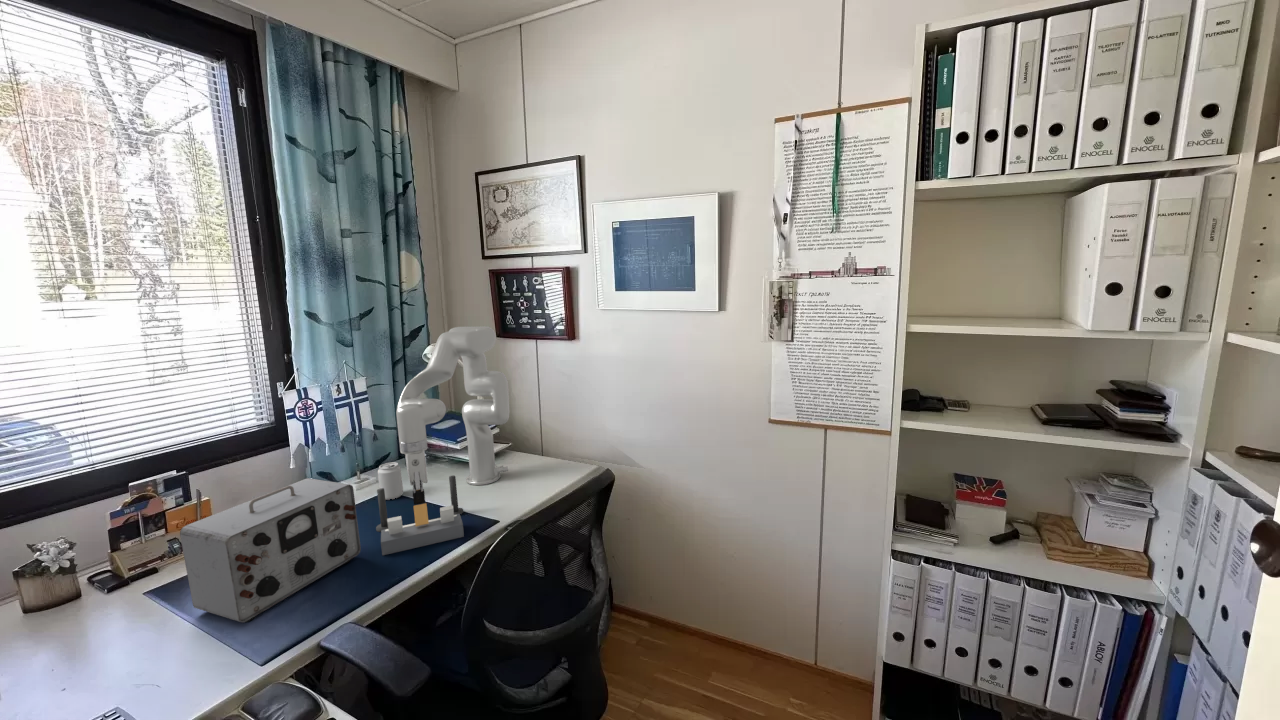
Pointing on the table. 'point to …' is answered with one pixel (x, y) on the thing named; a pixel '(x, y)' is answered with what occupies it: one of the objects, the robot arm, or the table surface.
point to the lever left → (395, 525)
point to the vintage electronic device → (269, 547)
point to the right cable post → (454, 495)
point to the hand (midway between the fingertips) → (419, 502)
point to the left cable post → (382, 510)
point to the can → (390, 480)
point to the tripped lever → (421, 514)
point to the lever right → (447, 514)
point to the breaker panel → (421, 535)
